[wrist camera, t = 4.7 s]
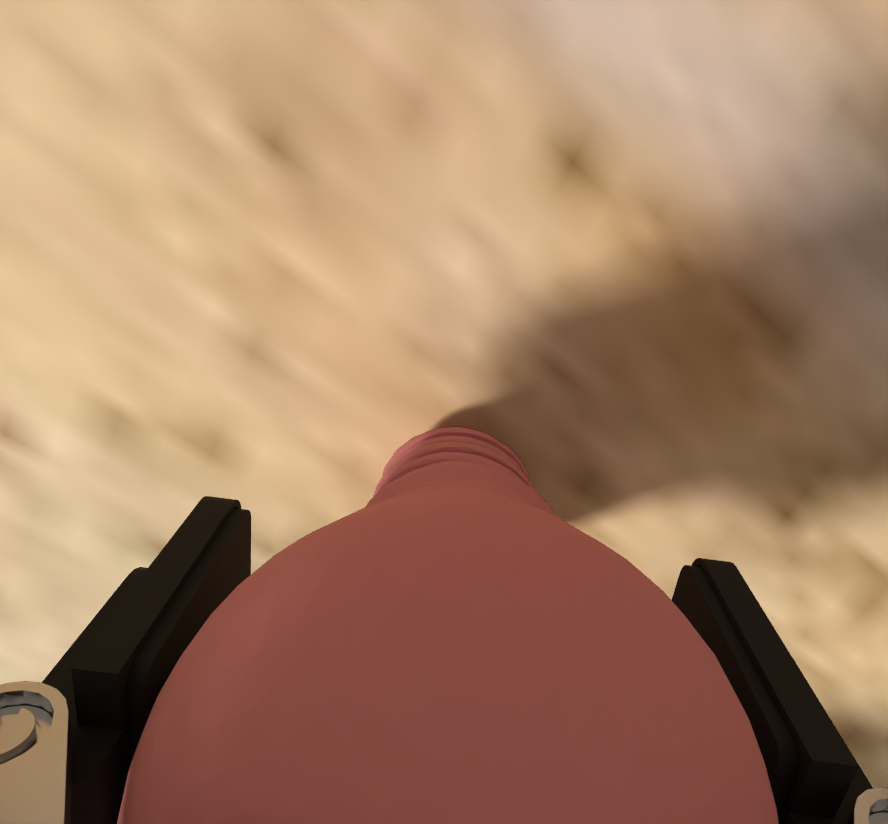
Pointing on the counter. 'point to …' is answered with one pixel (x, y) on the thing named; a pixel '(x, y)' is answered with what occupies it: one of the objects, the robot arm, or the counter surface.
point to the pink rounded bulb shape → (448, 675)
